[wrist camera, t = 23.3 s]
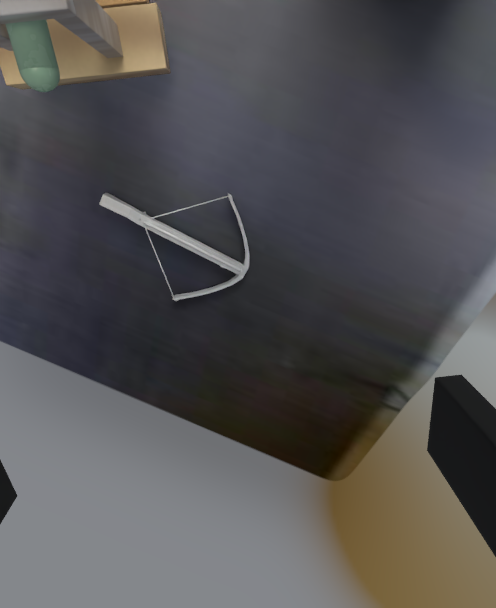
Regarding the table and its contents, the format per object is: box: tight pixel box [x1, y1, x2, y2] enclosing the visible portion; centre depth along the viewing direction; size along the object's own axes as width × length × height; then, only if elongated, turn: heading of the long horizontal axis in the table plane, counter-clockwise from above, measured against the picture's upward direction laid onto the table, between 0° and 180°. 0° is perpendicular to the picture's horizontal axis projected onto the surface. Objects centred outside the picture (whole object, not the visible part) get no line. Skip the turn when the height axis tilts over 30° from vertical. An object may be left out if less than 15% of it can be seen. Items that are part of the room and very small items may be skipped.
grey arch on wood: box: [0, 0, 171, 89], centre depth 24 cm, size 4×12×13 cm, turn 96°
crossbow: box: [99, 192, 250, 301], centre depth 39 cm, size 16×13×2 cm
